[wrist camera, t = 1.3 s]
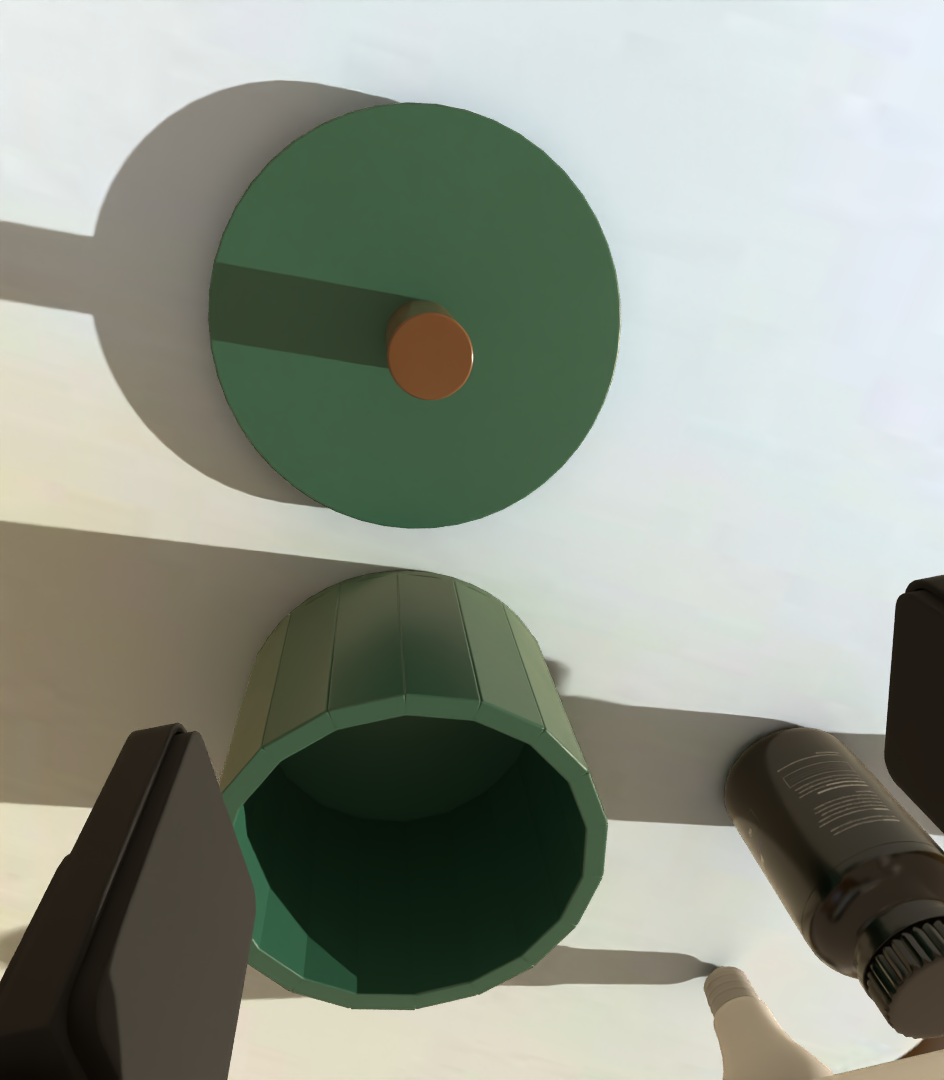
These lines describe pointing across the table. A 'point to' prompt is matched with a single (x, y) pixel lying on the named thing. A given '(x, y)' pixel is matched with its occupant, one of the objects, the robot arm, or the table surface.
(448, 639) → the tin
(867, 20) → the table surface
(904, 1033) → the supplement bottle
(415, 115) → the tin lid
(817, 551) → the table surface
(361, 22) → the table surface
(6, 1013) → the robot arm
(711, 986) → the lightbulb
